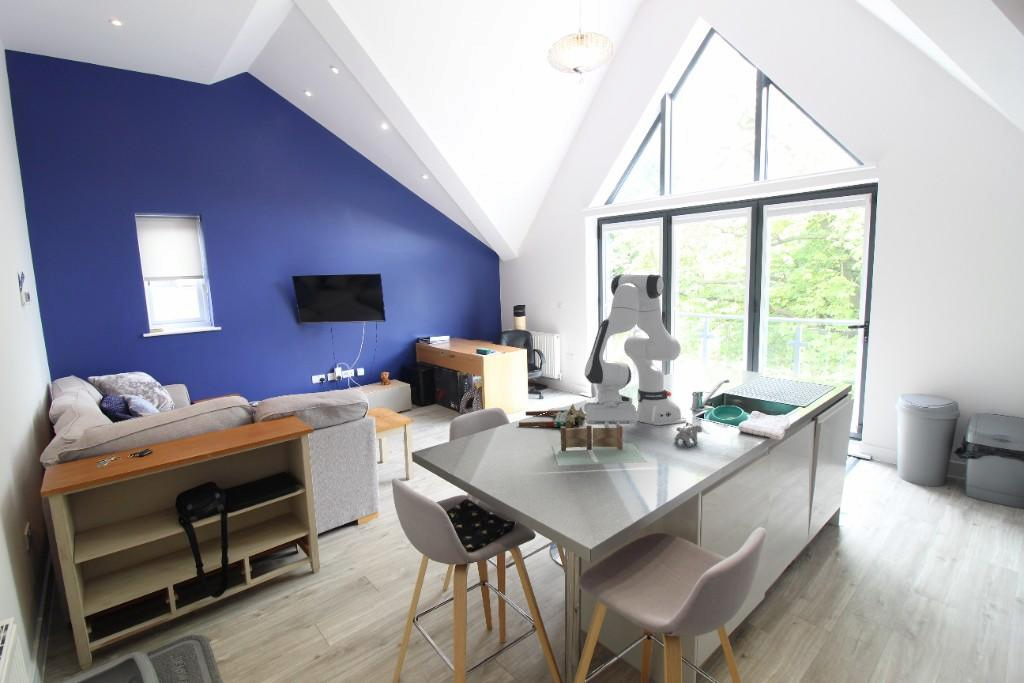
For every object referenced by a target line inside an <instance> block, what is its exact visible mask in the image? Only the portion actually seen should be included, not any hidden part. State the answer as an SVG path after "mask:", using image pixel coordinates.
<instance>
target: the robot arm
mask: <svg viewBox="0 0 1024 683" xmlns="http://www.w3.org/2000/svg"><path fill="white" fill-rule="evenodd" d="M610 283H611V284H610V291H611V293H612V296H613V298H612V302H611V309H610V312H609V316H608V317H607V318H606V319H603V320H602V322H601V323H600V326H599V327H598V330H597V333H596V337H595V340H594V342H593V346H592V349H591V352H590V355H589V356H588V360H587V362H586V365H585V367H584V377H585V378H586V379H587V381H588V382H589V383H590V384H595V385H596V389H597V391H598V392H597V402H596V401H593V402H589V401H588V402H587V403H585V404H584V405H583V411H584V412H585V414H586V416H585V418H586V420H585V423H586V425H590V426H592V425H604V428H611V427H610V426H609V425H615V428H617V426H621V425H636V424H637V422H640V423H643V422H644V423H645V424H649V425H653V424H654V426H662V425H663V426H664V425H671V424H680V423H681V424H682V423H687V419H686V417H685V416H684V415H683V414H682V413H681V412H682V411H681V408H680V407H679V405H678V404H677V403H675V401H673V400H671V398H669V397H671V396H672V392H670V391H667V390H666V389H665V387H664V386H665V384H664V382H665V380H664V379H665V375H664V372H663V371H662V370H661V369H660V368H659V367H657V366H656V365H655V364H654V362H653V361H659V362H671V361H676V360H677V359H678V358H679V356H680V354H681V344H680V343H679V341H678V339H677V338H675V337H673V336H672V335H671V334H670V333H669V332H668V330H667V328H666V327H665V325H664V323H663V318H662V311H661V302H660V296H661V295H662V294H663V291H664V285H665V284H664V279H663V277H662V276H661V275H660V274H659V273H656V272H650V273H649V272H635V273H633V272H632V273H627V274H626V273H625V274H618V275H616V276H614V278H613V279H612V281H611V282H610ZM636 326H637V328H639V330H641V331H643V332H644V333H645V334H646V335H643V334H642V335H641V334H640V335H632V336H628V337H627V338H626V340H625V341H624V345H623V350H624V353H625V355H626V356H628V357H629V358H630V359H631V361H632V362H633V364H634V365H635V368H636V370H637V376H638V388H637V401H638V402H637V408H636V406H635V405H634V404H633V398H632V397H629V396H625V395H623V394H620V392H619V391H620V390H622V389H624V388H625V387H626V386H628V385H629V383H630V382H631V381H632V371H631V368H630V366H629V365H628V364H627V363H624V362H621V361H620V362H619V361H612V360H607V359H604V358H603V356H604V355H605V349H606V346H607V343H608V340H609V339H610V337H612V336H614V335H617V334H622V333H627V332H630V331H631V330H633V328H634V327H635V328H636Z"/></svg>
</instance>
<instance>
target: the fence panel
mask: <svg viewBox="0 0 1024 683" xmlns="http://www.w3.org/2000/svg"><path fill="white" fill-rule="evenodd" d="M616 427H617V428H616ZM616 427H610V428H605V427H592V444H593V447H617V448H618V449H623V438H624V437H623V433H624V432H623V431H624V429H623V428H624V427H623V425H620V426H616Z"/></svg>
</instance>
